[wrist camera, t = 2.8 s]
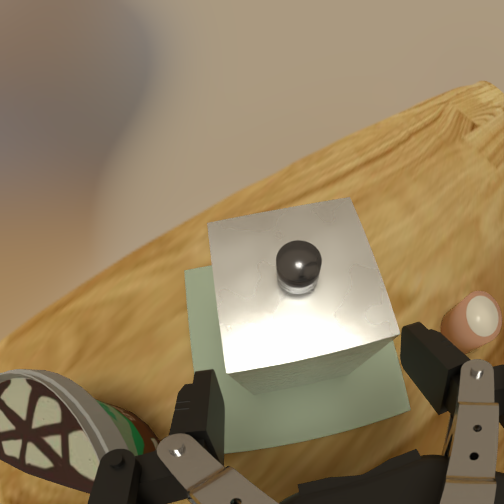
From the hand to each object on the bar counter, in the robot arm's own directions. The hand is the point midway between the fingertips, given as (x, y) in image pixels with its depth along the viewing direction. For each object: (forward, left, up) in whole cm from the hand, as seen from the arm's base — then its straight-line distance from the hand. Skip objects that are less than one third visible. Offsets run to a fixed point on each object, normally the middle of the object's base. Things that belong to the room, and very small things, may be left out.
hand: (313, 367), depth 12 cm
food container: (+14, -2, -9) cm, 17 cm away
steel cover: (-1, -3, -8) cm, 9 cm away
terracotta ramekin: (-13, +3, -9) cm, 16 cm away
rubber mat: (-1, -3, -9) cm, 9 cm away
